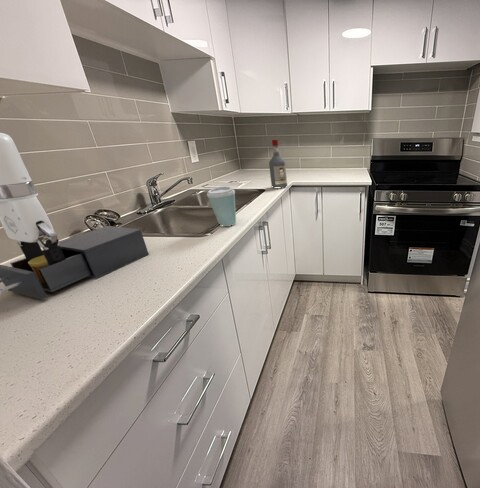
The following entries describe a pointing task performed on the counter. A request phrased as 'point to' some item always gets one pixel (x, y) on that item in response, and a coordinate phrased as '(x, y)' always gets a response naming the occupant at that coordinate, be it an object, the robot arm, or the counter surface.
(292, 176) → the counter surface
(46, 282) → the drawer
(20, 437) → the counter surface
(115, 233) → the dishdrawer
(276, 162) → the liquor
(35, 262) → the jar
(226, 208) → the disposable coffee cup
